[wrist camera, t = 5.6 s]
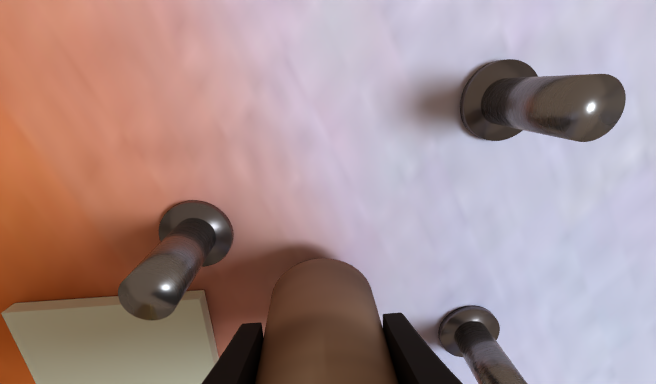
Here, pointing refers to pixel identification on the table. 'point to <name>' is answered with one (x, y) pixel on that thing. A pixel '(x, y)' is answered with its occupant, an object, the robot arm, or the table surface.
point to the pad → (113, 342)
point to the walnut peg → (324, 329)
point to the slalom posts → (481, 120)
